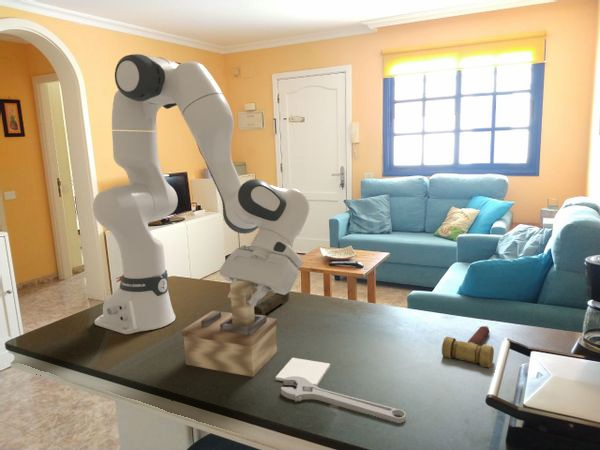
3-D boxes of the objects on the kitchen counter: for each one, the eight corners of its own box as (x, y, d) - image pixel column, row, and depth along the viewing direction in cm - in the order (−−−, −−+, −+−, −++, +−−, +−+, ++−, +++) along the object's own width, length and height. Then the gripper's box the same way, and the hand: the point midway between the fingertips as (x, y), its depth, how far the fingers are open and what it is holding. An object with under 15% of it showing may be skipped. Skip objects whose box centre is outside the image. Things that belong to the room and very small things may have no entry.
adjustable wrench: (408, 419, 78) (408, 410, 78) (394, 439, 73) (394, 430, 73) (292, 380, 92) (291, 373, 92) (273, 395, 87) (273, 387, 87)
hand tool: (261, 321, 124) (260, 305, 123) (249, 318, 126) (248, 303, 125) (296, 300, 140) (295, 286, 139) (285, 298, 142) (285, 284, 141)
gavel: (467, 315, 115) (508, 322, 110) (466, 332, 116) (507, 340, 110) (441, 339, 98) (489, 350, 93) (441, 359, 99) (488, 371, 93)
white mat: (275, 379, 92) (275, 376, 92) (292, 360, 100) (292, 357, 100) (316, 387, 89) (316, 384, 89) (330, 366, 97) (330, 363, 97)
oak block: (232, 328, 98) (230, 285, 97) (240, 322, 102) (238, 280, 100) (247, 330, 97) (244, 286, 95) (254, 324, 100) (252, 281, 99)
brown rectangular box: (184, 365, 100) (180, 324, 98) (214, 341, 111) (212, 304, 109) (253, 377, 93) (251, 334, 91) (278, 351, 105) (277, 312, 103)
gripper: (231, 237, 108) (202, 286, 102) (295, 248, 95) (265, 304, 89) (245, 251, 112) (218, 299, 106) (309, 263, 99) (281, 318, 93)
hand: (240, 302), depth 98 cm, fingers closed on oak block, 4 cm apart
